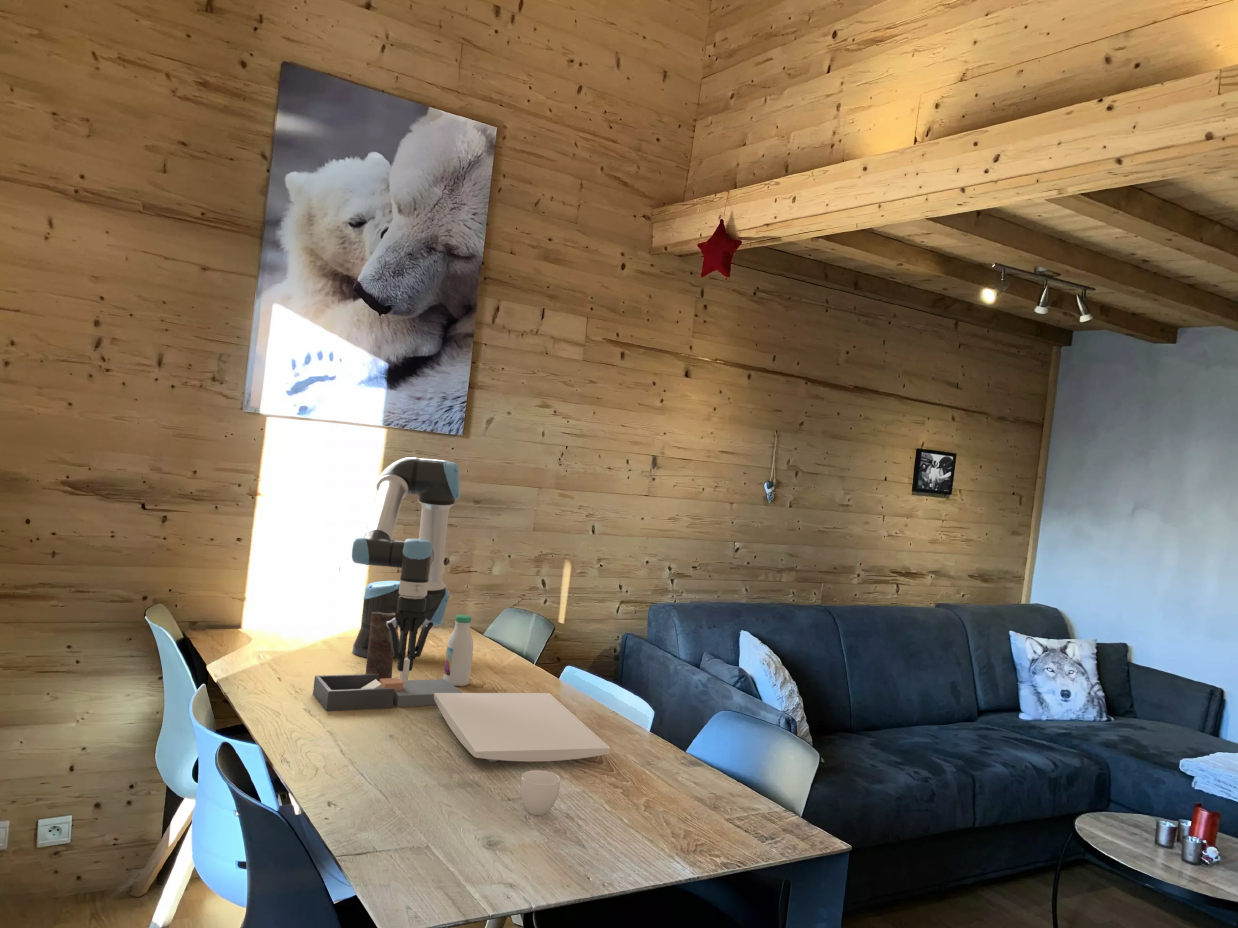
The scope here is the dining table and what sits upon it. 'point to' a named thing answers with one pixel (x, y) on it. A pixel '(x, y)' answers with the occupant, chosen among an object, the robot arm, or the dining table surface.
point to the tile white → (373, 685)
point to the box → (351, 692)
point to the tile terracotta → (392, 683)
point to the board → (518, 727)
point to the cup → (539, 791)
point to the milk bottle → (459, 653)
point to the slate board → (422, 692)
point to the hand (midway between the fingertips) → (403, 682)
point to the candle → (380, 646)
